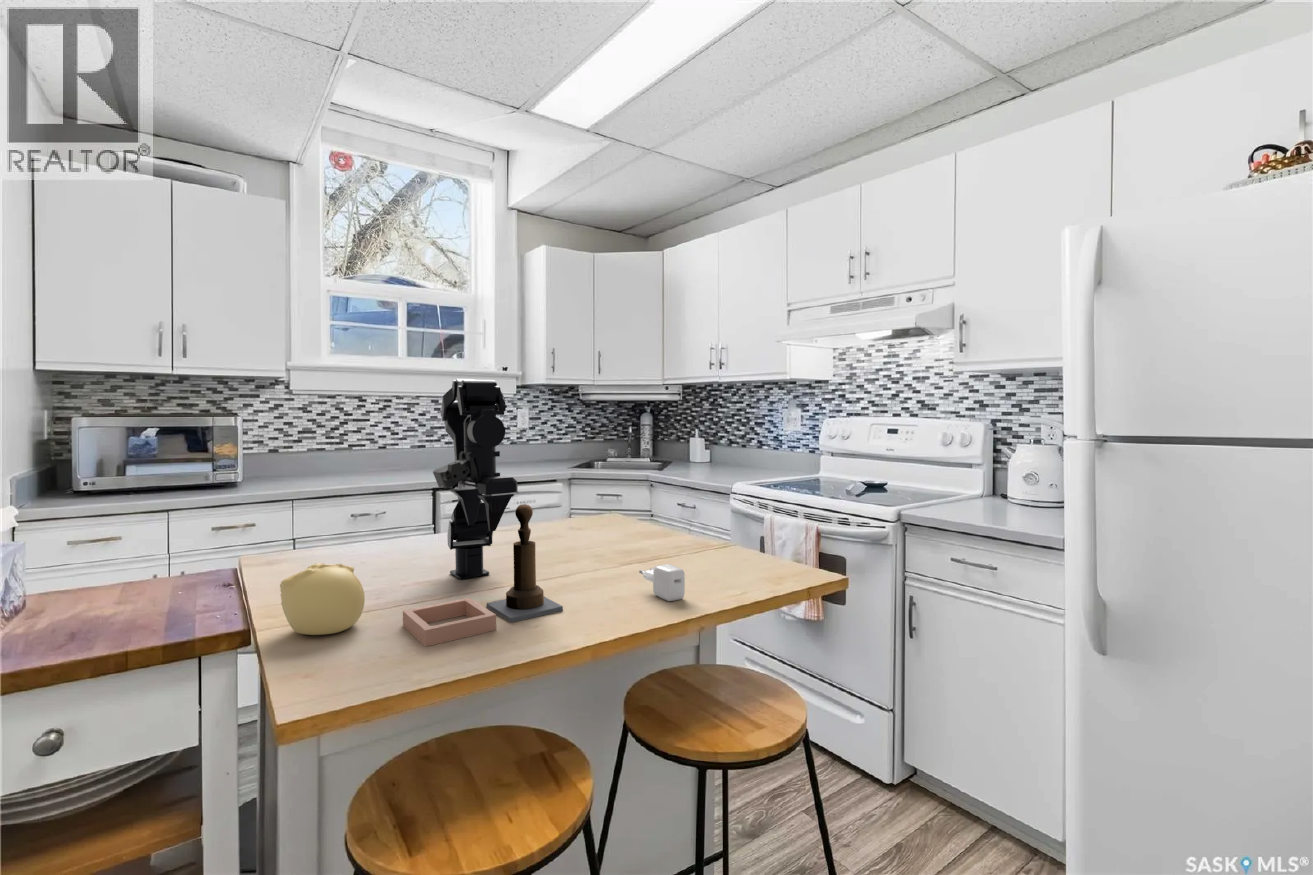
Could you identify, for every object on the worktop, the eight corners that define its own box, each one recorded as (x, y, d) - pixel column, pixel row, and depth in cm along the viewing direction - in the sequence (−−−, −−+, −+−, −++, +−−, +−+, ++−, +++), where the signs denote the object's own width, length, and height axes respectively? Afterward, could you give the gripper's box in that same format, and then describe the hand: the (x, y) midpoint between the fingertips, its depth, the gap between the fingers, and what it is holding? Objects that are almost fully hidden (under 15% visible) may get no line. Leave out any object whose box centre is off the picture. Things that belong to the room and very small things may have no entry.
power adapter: (635, 588, 126) (635, 559, 125) (655, 584, 128) (655, 556, 128) (666, 603, 116) (666, 572, 116) (688, 599, 119) (688, 568, 119)
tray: (402, 625, 105) (402, 610, 105) (469, 611, 112) (469, 597, 112) (425, 646, 96) (425, 630, 96) (496, 629, 103) (496, 614, 103)
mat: (486, 607, 114) (486, 603, 114) (536, 596, 120) (536, 592, 120) (510, 622, 106) (510, 618, 106) (562, 610, 112) (562, 606, 112)
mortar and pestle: (531, 596, 118) (530, 500, 117) (550, 604, 113) (550, 504, 112) (499, 603, 114) (498, 504, 113) (518, 612, 109) (517, 509, 108)
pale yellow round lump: (344, 612, 111) (342, 552, 111) (377, 628, 104) (376, 563, 103) (272, 630, 102) (270, 565, 102) (303, 649, 95) (301, 578, 94)
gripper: (419, 446, 122) (421, 527, 122) (458, 449, 107) (460, 540, 108) (474, 444, 129) (476, 520, 129) (518, 446, 114) (519, 532, 115)
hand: (481, 528), depth 120 cm, fingers open, 9 cm apart
